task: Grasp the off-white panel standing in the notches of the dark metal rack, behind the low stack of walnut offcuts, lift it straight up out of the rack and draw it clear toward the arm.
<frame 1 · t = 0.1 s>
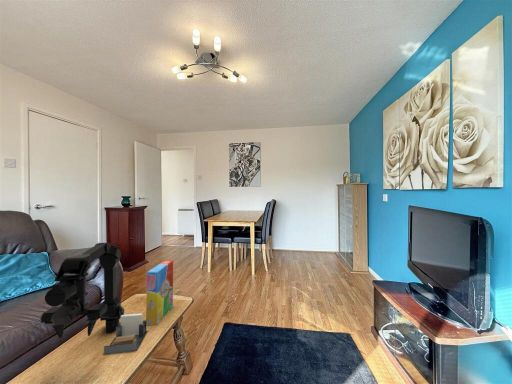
hand: (75, 336, 80), 15 cm above the table, fingers open, 9 cm apart
panel: (131, 334, 103), point 1 cm above the table, touching rack
game box: (160, 316, 120), on the table
offcut upper: (124, 342, 95), point 3 cm above the table, touching offcut lower
offcut lower: (123, 347, 94), point 1 cm above the table, touching offcut upper, rack
rack: (128, 342, 99), on the table
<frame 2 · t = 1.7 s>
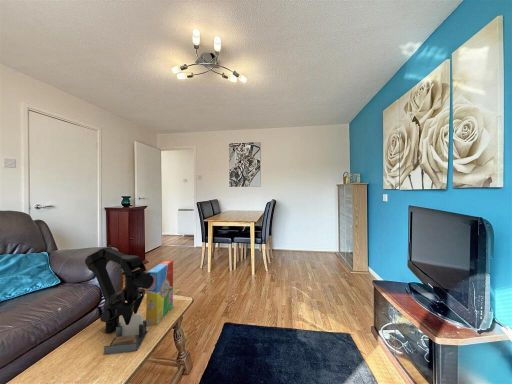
hand: (131, 318, 103), 8 cm above the table, fingers open, 9 cm apart
nothing on the table moved.
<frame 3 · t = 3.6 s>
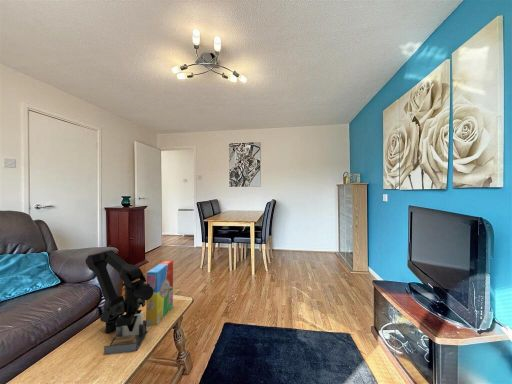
hand: (131, 330, 103), 3 cm above the table, fingers closed on panel, 1 cm apart
panel: (131, 334, 103), point 1 cm above the table, touching gripper, rack
everything else where it was.
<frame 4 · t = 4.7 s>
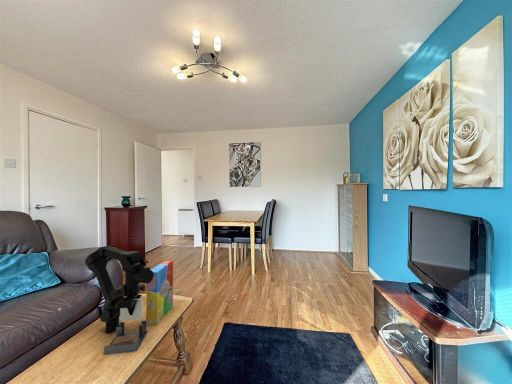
hand: (131, 314, 103), 10 cm above the table, fingers closed on panel
panel: (131, 319, 103), point 8 cm above the table, touching gripper
everything else where it was.
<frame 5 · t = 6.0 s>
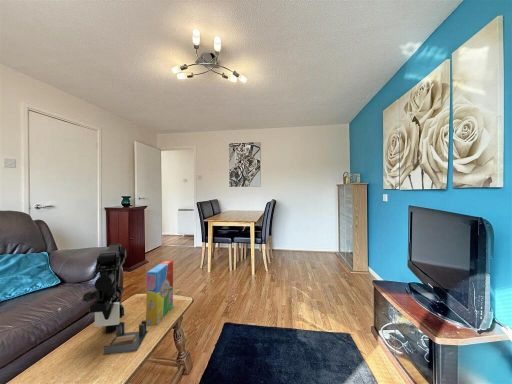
hand: (107, 318, 97), 12 cm above the table, fingers closed on panel
panel: (107, 324, 96), point 9 cm above the table, touching gripper
everything else where it was.
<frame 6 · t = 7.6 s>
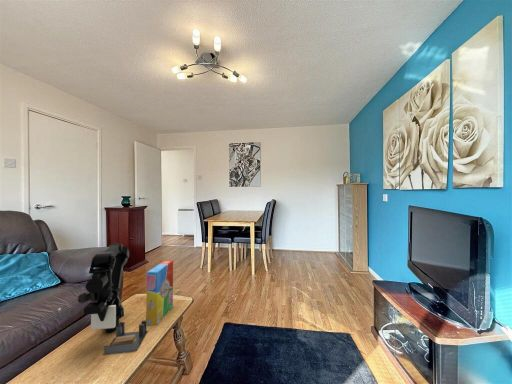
hand: (103, 320, 96), 12 cm above the table, fingers closed on panel
panel: (103, 327, 96), point 9 cm above the table, touching gripper
everything else where it was.
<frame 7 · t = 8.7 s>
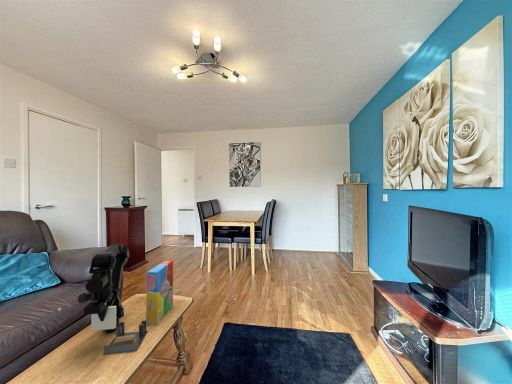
hand: (103, 320, 96), 12 cm above the table, fingers closed on panel
panel: (103, 328, 96), point 8 cm above the table, touching gripper
everything else where it was.
at the end: the gripper is holding panel; panel point 8.2 cm above the table; offcut upper moved 0.0 cm from its start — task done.
